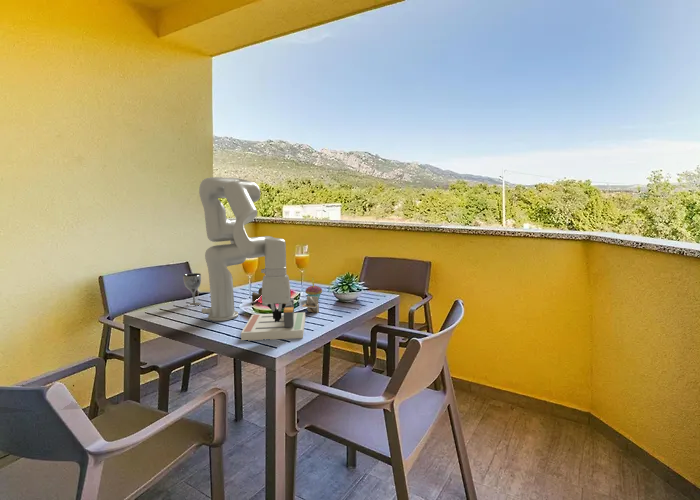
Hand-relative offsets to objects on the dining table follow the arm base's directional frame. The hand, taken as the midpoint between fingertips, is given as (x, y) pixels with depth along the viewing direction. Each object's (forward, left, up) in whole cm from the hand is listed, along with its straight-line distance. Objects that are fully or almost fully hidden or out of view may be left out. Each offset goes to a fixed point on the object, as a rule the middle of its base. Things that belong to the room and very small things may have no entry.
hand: (277, 320), depth 138 cm
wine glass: (-47, +49, -6) cm, 68 cm away
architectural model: (+12, +28, -6) cm, 31 cm away
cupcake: (+12, +50, -6) cm, 52 cm away
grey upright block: (+4, 0, -2) cm, 5 cm away
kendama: (-14, +52, -6) cm, 55 cm away
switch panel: (-2, +7, -6) cm, 9 cm away
